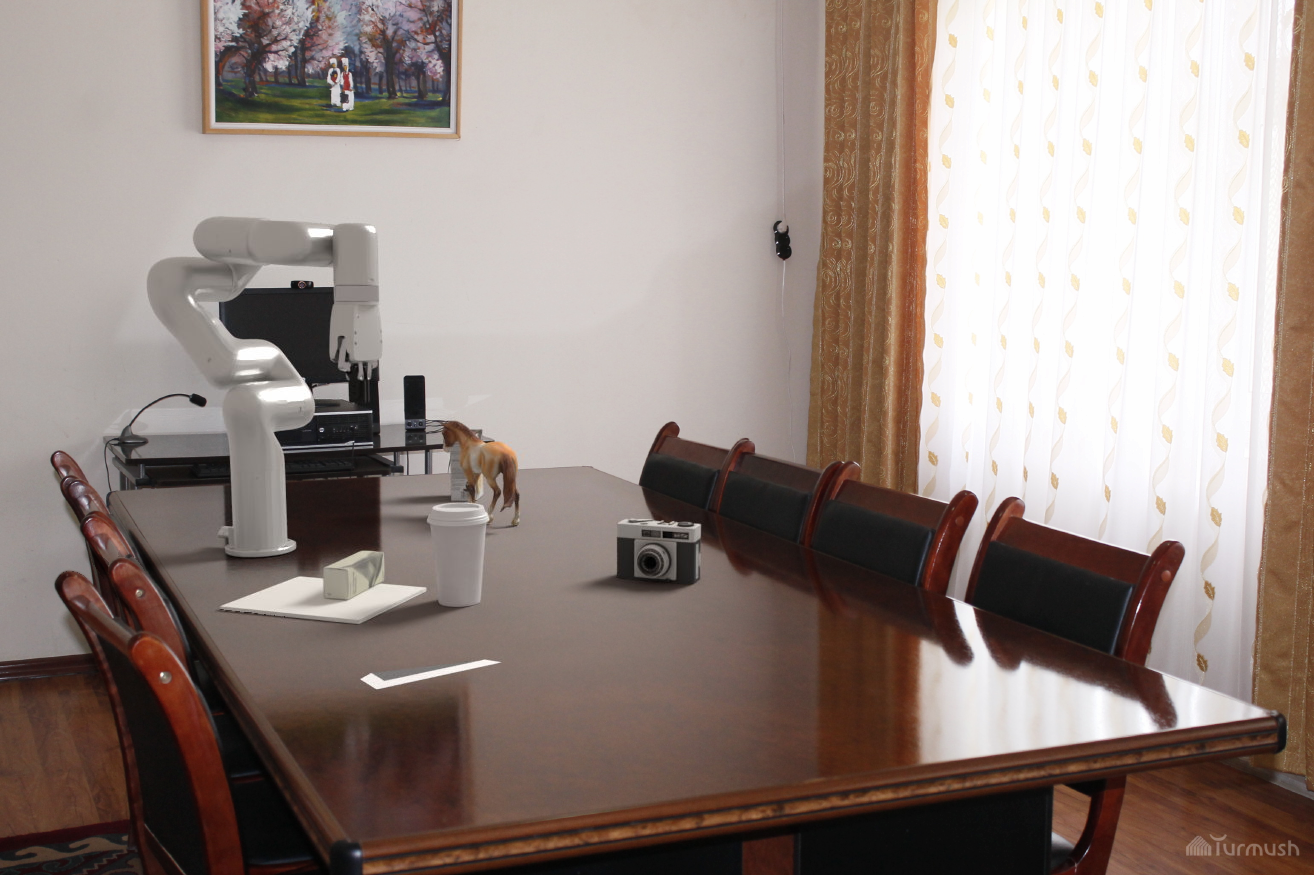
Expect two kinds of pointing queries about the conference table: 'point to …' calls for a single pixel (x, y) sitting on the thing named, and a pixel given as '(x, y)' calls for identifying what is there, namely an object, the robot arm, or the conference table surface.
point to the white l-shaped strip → (419, 673)
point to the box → (353, 575)
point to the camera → (658, 551)
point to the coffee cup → (458, 551)
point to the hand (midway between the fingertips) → (359, 402)
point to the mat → (323, 601)
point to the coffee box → (462, 475)
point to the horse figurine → (484, 465)
